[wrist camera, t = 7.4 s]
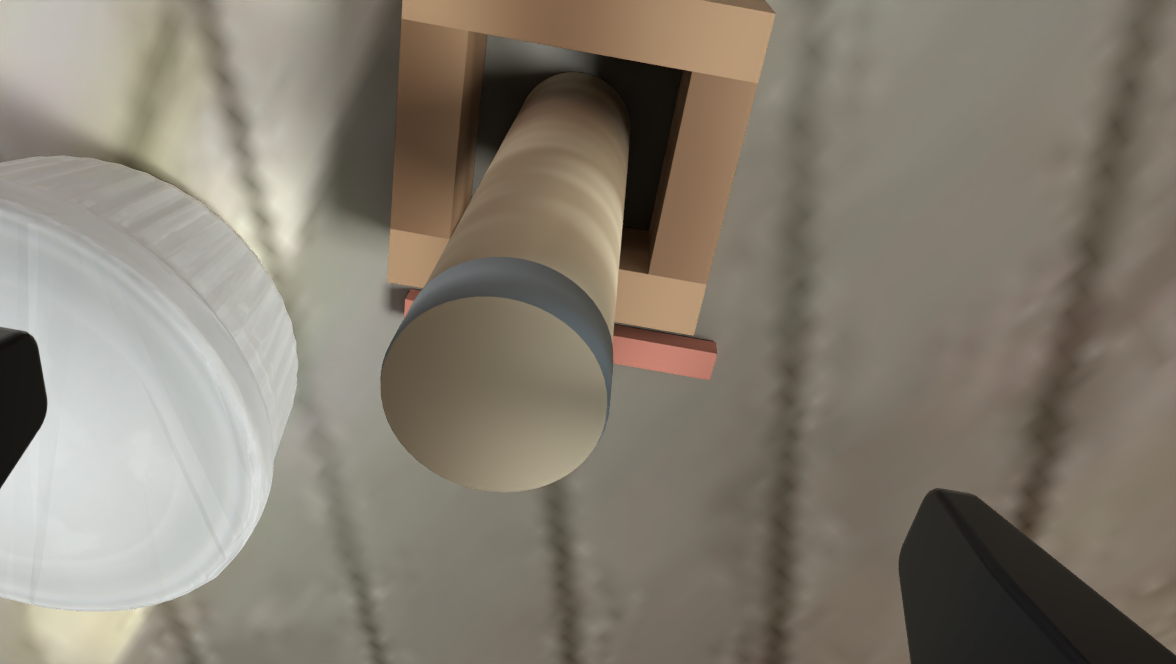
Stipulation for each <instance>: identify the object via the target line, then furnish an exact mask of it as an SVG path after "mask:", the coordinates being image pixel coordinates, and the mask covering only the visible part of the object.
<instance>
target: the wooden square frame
mask: <svg viewBox="0 0 1176 664" xmlns="http://www.w3.org/2000/svg"><path fill="white" fill-rule="evenodd" d="M775 15H776V13H775V12H774V11H773V10H772V8H771V7H770V6H769V5H768V3H767V2H766V1H765V0H402V18H401V37H400V55H399V74H398V93H397V111H396V130H395V149H394V167H393V186H392V205H391V223H390V242H389V261H388V279H387V282H390V283H396V284H402V285H407V286H413V287H419V288H424V286H425V284H426V282H427V281H428V279H429V277H430V275H431V273H432V271H433V270H434V268H435V266H436V264H437V262H438V260H439V258H440V257H441V255H442V253H443V251H444V249H445V247H446V246H447V244H448V242H449V240H450V238H451V236H452V235H453V233H454V231H455V229H456V227H457V225H458V223H459V222H460V220H461V218H462V216H463V214H464V212H465V211H466V209H467V207H468V205H469V203H470V201H471V192H472V182H473V172H474V162H475V152H476V142H477V132H478V122H479V112H480V102H481V93H482V83H483V73H484V63H485V53H486V43H487V34H489V35H494V36H500V37H505V38H511V39H516V40H522V41H527V42H533V43H538V44H544V45H549V46H555V47H560V48H566V49H571V50H577V51H582V52H588V53H593V54H599V55H604V56H610V57H615V58H621V59H626V60H632V61H637V62H643V63H648V64H654V65H659V66H665V67H670V68H676V69H682V70H683V72H682V77H681V81H680V86H679V91H678V96H677V100H676V105H675V110H674V114H673V119H672V124H671V129H670V133H669V138H668V143H667V147H666V152H665V157H664V162H663V166H662V171H661V176H660V181H659V185H658V190H657V195H656V199H655V204H654V209H653V214H652V218H651V223H650V228H649V231H644V230H638V229H633V228H627V227H622V238H621V249H620V261H619V273H618V284H617V296H616V308H615V319H614V322H618V323H624V324H630V325H636V326H641V327H647V328H653V329H658V330H664V331H670V332H676V333H681V334H687V335H693V336H694V332H695V328H696V324H697V321H698V317H699V313H700V309H701V305H702V301H703V297H704V293H705V289H706V285H707V281H708V278H709V274H710V270H711V266H712V262H713V258H714V254H715V250H716V246H717V242H718V238H719V235H720V231H721V227H722V223H723V219H724V215H725V211H726V207H727V203H728V199H729V195H730V191H731V188H732V184H733V180H734V176H735V172H736V168H737V164H738V160H739V156H740V152H741V148H742V145H743V141H744V137H745V133H746V129H747V125H748V121H749V117H750V113H751V109H752V105H753V102H754V98H755V94H756V90H757V86H758V82H759V78H760V74H761V70H762V66H763V62H764V58H765V55H766V51H767V47H768V43H769V39H770V35H771V31H772V27H773V23H774V19H775ZM419 293H420V290H415V289H411V290H410V292H409V293H408V295H407V297H406V299H405V309H404V318H405V316H406V314H407V312H408V310H409V309H410V307H411V305H412V303H413V301H414V300H415V298H416V297H417V296H418V294H419ZM612 345H613V363H615V364H620V365H626V366H632V367H638V368H643V369H649V370H655V371H661V372H666V373H672V374H678V375H683V376H689V377H695V378H701V379H706V380H710V378H711V374H712V371H713V367H714V363H715V360H716V356H717V349H716V342H711V341H706V340H700V339H694V338H689V337H683V336H677V335H671V334H666V333H660V332H654V331H649V330H643V329H637V328H631V327H626V326H620V325H614V331H613V343H612Z"/></svg>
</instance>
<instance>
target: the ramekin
mask: <svg viewBox="0 0 1176 664" xmlns="http://www.w3.org/2000/svg"><path fill="white" fill-rule="evenodd" d="M0 327H5V328H10V329H16V330H22V331H26V332H28V333H29V334H31V335H32V336H33V337H34V339H35V340H36V342H37V345H38V348H39V354H40V359H41V365H42V371H43V377H44V382H45V388H46V394H47V402H48V405H47V413H46V417H45V419H44V422H43V424H42V426H41V428H40V429H39V431H38V432H37V434H36V435H35V437H34V439H33V440H32V442H31V443H30V445H29V446H28V448H27V449H26V451H25V452H24V454H23V455H22V457H21V458H20V460H19V461H18V463H17V464H16V466H15V467H14V469H13V470H12V472H11V474H10V475H9V477H8V478H7V480H6V481H5V483H4V484H3V486H2V487H1V489H0V597H3V598H7V599H11V600H14V601H18V602H22V603H26V604H31V605H36V606H40V607H45V608H52V609H63V610H70V611H121V610H131V609H136V608H141V607H147V606H151V605H156V604H159V603H162V602H165V601H168V600H172V599H174V598H177V597H179V596H182V595H185V594H187V593H189V592H191V591H193V590H194V589H196V588H198V587H200V586H201V585H203V584H205V583H207V582H209V581H210V580H212V579H214V578H216V577H217V576H218V575H219V574H220V573H221V572H222V571H223V570H224V568H225V567H226V566H227V565H228V564H229V563H230V562H231V561H232V560H233V559H234V558H235V556H236V555H237V554H238V553H239V551H240V550H241V549H242V548H243V546H244V545H245V543H246V541H247V540H248V538H249V537H250V535H251V533H252V532H253V530H254V528H255V526H256V525H257V523H258V521H259V519H260V517H261V515H262V513H263V510H264V507H265V505H266V502H267V499H268V496H269V493H270V489H271V484H272V477H273V460H274V458H275V455H276V452H277V449H278V446H279V443H280V440H281V437H282V434H283V431H284V428H285V426H286V423H287V420H288V417H289V414H290V412H291V409H292V406H293V401H294V395H295V393H296V388H297V377H296V374H297V370H298V359H297V354H296V344H297V343H296V340H295V337H294V334H293V329H292V322H291V320H290V317H289V315H288V313H287V311H286V309H285V305H284V302H283V298H282V297H281V295H280V294H279V292H278V290H277V289H276V287H275V284H274V282H273V279H272V277H271V276H270V275H269V274H268V272H267V271H266V270H265V269H264V267H263V266H262V264H261V262H260V260H259V259H258V257H257V256H256V255H255V253H254V252H253V251H252V250H251V249H250V248H249V247H248V246H247V244H246V243H245V242H244V240H243V239H242V238H241V237H240V236H239V235H238V234H237V233H236V232H235V231H234V230H233V229H232V228H231V227H230V226H229V225H228V224H227V223H226V222H225V221H224V220H223V219H221V218H220V217H219V216H217V215H216V214H214V213H213V212H212V211H210V210H209V209H208V208H207V207H206V206H205V205H204V204H202V203H201V202H200V201H198V200H197V199H195V198H193V197H191V196H189V195H187V194H186V193H184V192H183V191H181V190H180V189H178V188H177V187H175V186H174V185H172V184H169V183H167V182H164V181H162V180H159V179H157V178H155V177H154V176H152V175H150V174H148V173H145V172H142V171H138V170H134V169H132V168H129V167H127V166H124V165H122V164H119V163H112V162H106V161H103V160H99V159H95V158H88V157H85V158H78V157H73V156H68V155H56V156H51V157H48V156H36V157H28V158H23V159H17V160H12V161H6V162H0Z"/></svg>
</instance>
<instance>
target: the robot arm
mask: <svg viewBox="0 0 1176 664" xmlns="http://www.w3.org/2000/svg"><path fill="white" fill-rule="evenodd" d="M47 405H48V402H47V394H46V388H45V382H44V377H43V371H42V365H41V359H40V354H39V348H38V345H37V342H36V340H35V339H34V337H33V336H32V335H31V334H29V333H28V332H26V331H22V330H16V329H10V328H5V327H0V489H1V487H2V486H3V484H4V483H5V481H6V480H7V478H8V477H9V475H10V474H11V472H12V470H13V469H14V467H15V466H16V464H17V463H18V461H19V460H20V458H21V457H22V455H23V454H24V452H25V451H26V449H27V448H28V446H29V445H30V443H31V442H32V440H33V439H34V437H35V435H36V434H37V432H38V431H39V429H40V428H41V426H42V424H43V422H44V419H45V417H46V413H47ZM899 577H900V585H901V592H902V600H903V608H904V615H905V623H906V630H907V638H908V645H909V653H910V660H911V664H1176V655H1175V654H1173V653H1172V652H1171V651H1170V650H1168V649H1167V648H1166V647H1165V646H1163V645H1162V644H1161V643H1159V642H1158V641H1157V640H1156V639H1154V638H1153V637H1152V636H1151V635H1149V634H1148V633H1147V632H1146V631H1144V630H1143V629H1142V628H1141V627H1139V626H1138V625H1137V624H1136V623H1134V622H1133V621H1132V620H1131V619H1129V618H1128V617H1127V616H1126V615H1124V614H1123V613H1122V612H1121V611H1119V610H1118V609H1117V608H1116V607H1114V606H1113V605H1112V604H1111V603H1109V602H1108V601H1107V600H1106V599H1104V598H1103V597H1102V596H1101V595H1099V594H1098V593H1097V592H1096V591H1094V590H1093V589H1092V588H1091V587H1089V586H1088V585H1087V584H1086V583H1084V582H1083V581H1082V580H1081V579H1079V578H1078V577H1077V576H1076V575H1074V574H1073V573H1072V572H1071V571H1069V570H1068V569H1067V568H1066V567H1064V566H1063V565H1062V564H1061V563H1059V562H1058V561H1057V560H1056V559H1054V558H1053V557H1052V556H1051V555H1049V554H1048V553H1047V552H1046V551H1044V550H1043V549H1042V548H1041V547H1039V546H1038V545H1037V544H1036V543H1034V542H1033V541H1032V540H1031V539H1029V538H1028V537H1027V536H1026V535H1024V534H1023V533H1022V532H1021V531H1019V530H1018V529H1017V528H1016V527H1014V526H1013V525H1012V524H1011V523H1009V522H1008V521H1007V520H1006V519H1004V518H1003V517H1002V516H1001V515H999V514H998V513H997V512H996V511H994V510H993V509H992V508H991V507H989V506H988V505H987V504H986V503H984V502H983V501H982V500H981V499H979V498H978V497H977V496H975V495H973V494H970V493H965V492H959V491H953V490H947V489H941V488H936V489H933V490H931V491H929V492H928V494H927V495H926V496H925V498H924V499H923V501H922V503H921V506H920V508H919V510H918V512H917V514H916V517H915V519H914V521H913V523H912V525H911V528H910V530H909V532H908V534H907V536H906V539H905V541H904V543H903V545H902V548H901V552H900V556H899Z"/></svg>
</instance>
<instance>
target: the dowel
mask: <svg viewBox="0 0 1176 664" xmlns="http://www.w3.org/2000/svg"><path fill="white" fill-rule="evenodd" d="M630 133H631V130H630V118H629V114H628V111H627V108H626V106H625V104H624V102H623V100H622V99H621V97H620V96H619V95H618V93H617V92H616V91H615V90H614V89H613V88H612V87H611V86H610V85H609V84H607V83H606V82H605V81H603V80H601V79H599V78H597V77H595V76H592V75H589V74H585V73H579V72H567V73H561V74H557V75H554V76H552V77H550V78H547V79H546V80H544V81H543V82H541V83H540V84H539V85H537V86H536V87H535V88H534V89H533V90H532V91H531V92H530V94H529V95H528V97H527V98H526V100H525V102H524V104H523V105H522V107H521V109H520V111H519V113H518V115H517V116H516V118H515V120H514V122H513V124H512V126H511V128H510V129H509V131H508V133H507V135H506V137H505V139H504V140H503V142H502V144H501V146H500V148H499V150H498V152H497V153H496V155H495V157H494V159H493V161H492V163H491V164H490V166H489V168H488V170H487V172H486V174H485V176H484V177H483V179H482V181H481V183H480V185H479V187H478V188H477V190H476V192H475V194H474V196H473V198H472V199H471V201H470V203H469V205H468V207H467V209H466V211H465V212H464V214H463V216H462V218H461V220H460V222H459V223H458V225H457V227H456V229H455V231H454V233H453V235H452V236H451V238H450V240H449V242H448V244H447V246H446V247H445V249H444V251H443V253H442V255H441V257H440V258H439V260H438V262H437V264H436V266H435V268H434V270H433V271H432V273H431V275H430V277H429V279H428V281H427V282H426V284H425V286H424V288H423V289H422V290H421V291H420V293H419V294H418V296H417V297H416V298H415V300H414V301H413V303H412V305H411V307H410V309H409V310H408V312H407V314H406V316H405V318H404V319H403V321H402V323H401V325H400V327H399V329H398V330H397V332H396V334H395V336H394V338H393V339H392V341H391V343H390V345H389V347H388V350H387V352H386V354H385V357H384V361H383V364H382V370H381V398H382V404H383V409H384V412H385V415H386V418H387V420H388V423H389V425H390V427H391V429H392V431H393V432H394V434H395V435H396V437H397V438H398V440H399V441H400V443H401V444H402V445H403V446H404V447H405V449H406V450H407V451H408V452H409V453H410V454H411V455H412V456H413V457H414V458H415V459H416V460H417V461H419V462H420V463H421V464H423V465H424V466H425V467H427V468H428V469H429V470H431V471H433V472H434V473H436V474H438V475H439V476H441V477H443V478H445V479H448V480H450V481H452V482H454V483H457V484H460V485H463V486H466V487H469V488H474V489H478V490H484V491H492V492H517V491H525V490H530V489H535V488H539V487H542V486H545V485H548V484H550V483H553V482H555V481H557V480H559V479H561V478H563V477H564V476H566V475H568V474H569V473H571V472H572V471H573V470H575V469H576V468H577V467H578V466H579V465H581V464H582V463H583V462H584V460H585V459H586V458H587V457H588V456H589V455H590V454H591V452H592V451H593V449H594V448H595V446H596V445H597V443H598V442H599V440H600V438H601V436H602V434H603V432H604V430H605V426H606V423H607V420H608V415H609V407H610V396H611V384H612V372H613V345H612V343H613V331H614V319H615V308H616V296H617V284H618V273H619V261H620V249H621V238H622V226H623V214H624V203H625V191H626V179H627V168H628V156H629V144H630Z"/></svg>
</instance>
